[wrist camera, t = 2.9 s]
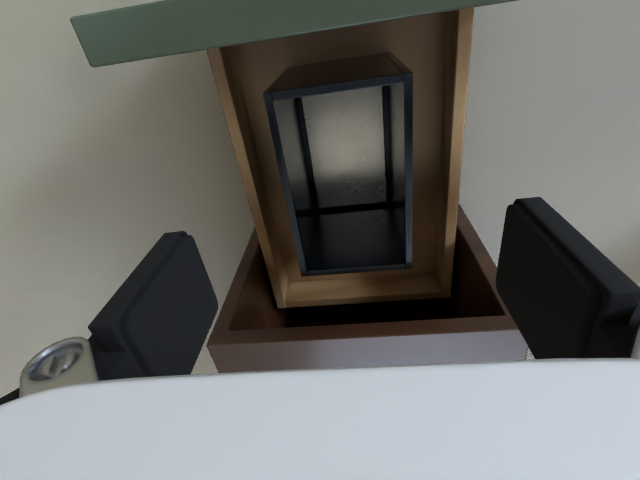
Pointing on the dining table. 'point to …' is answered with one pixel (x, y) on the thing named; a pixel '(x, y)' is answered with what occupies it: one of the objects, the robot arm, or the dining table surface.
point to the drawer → (305, 48)
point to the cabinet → (367, 321)
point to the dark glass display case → (346, 162)
